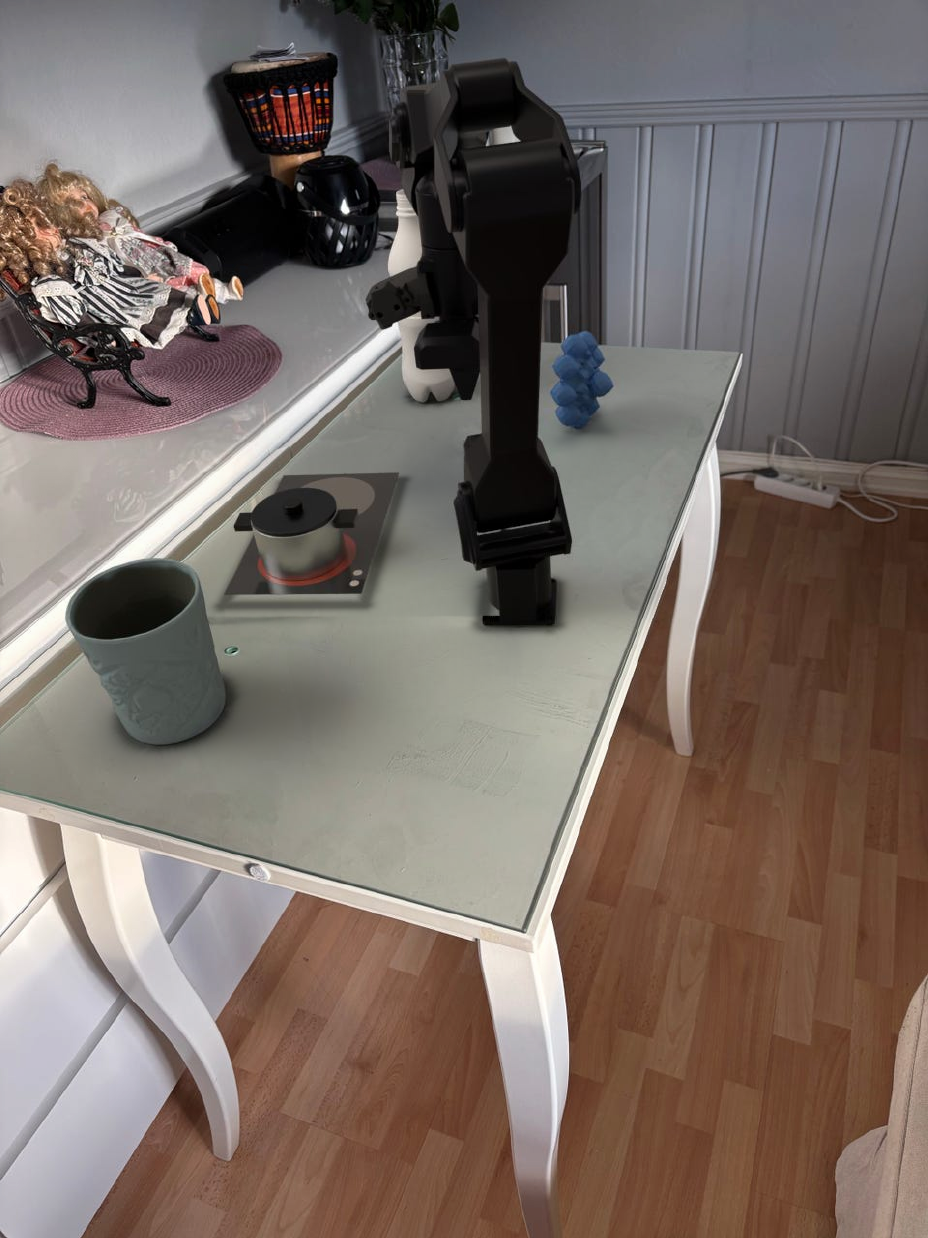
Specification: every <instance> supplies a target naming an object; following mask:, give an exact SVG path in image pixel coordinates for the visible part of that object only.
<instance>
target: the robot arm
mask: <svg viewBox="0 0 928 1238" xmlns="http://www.w3.org/2000/svg"><path fill="white" fill-rule="evenodd" d="M399 101H400V102H399V103H394V104H393V107H392V115H391V117H390V119H389V120H388V140H389V141H388V152H389V156H390V157H389V158H390V162H391V163H395V164H396V167H397V169H398V170H403V172H402V177H401V186H402V189H403V190H404V193H405V195H406V197H407V199H408V201H409V203H410V204H411V206H412V208H413V210H414V211H415V213H416V215H417V216H418V219H419V228H420V237H421V247H422V256H421V258H420V261H418V262H417V266H415V267H412V268H409V269H406V270H404V271H402V272H400V273H398V274H395V275H393V276H391V277H390V276H389V277H387V278H385V279H381V280H380V281H378V282H376V283H375V284H374V285H372V286H371V288H370V289H369V292H368V293H367V295H366V297H365V304H366V306H367V309H368V314H367V316H368V319H370V320H371V321H376V323H377V325H378V327H379V329H380V330H382V331H383V330H387V329H390V328H392V327H393V326H394V324H396V323H398V321H401V320H403V319H405V318H408V317H410V316H412V315H414V314H416V313H418V312H420V311H421V319H434V318H435V317H439V320H437V321H435V322H434V323H427V324H426V326H425V327H424V328H423V329H422V330H421V332H420V333H419V334H418V337H417V340H416V343H415V346H414V355H415V363H416V368H418V369H421V370H430V369H449V370H450V373H451V375H452V378H453V381H454V383H455V386H456V387H455V389H456V391H457V393H458V397H459V399H460V400H461V401H462V402H463V401H464V402H465V401H471V400H472V399H473V396H474V393H475V390H476V387H477V383H478V381H480V409H481V410H480V415H481V433H475V434H471V435H467V436H466V438H465V440H464V442H463V481H459V482H458V483H457V491H456V497H455V498H454V499H453V508H454V513H455V517H456V524H457V528H458V534H459V540H460V548H461V556H462V560H463V561H464V562H467V563H470V564H471V565H473V567H474V570H475V571H476V572H478V571H479V572H480V571H483V569H485V570H486V571H485V572H486V582H487V592H488V594H487V595H488V601H489V603H490V604H491V606H493V608H495V609H496V610H498V615H482V618H481V621H482V625H483V626H485V627H486V626H487V627H525V626H526V627H527V626H528V627H538V626H539V627H547V626H548V627H551V626H554V625H555V624H556V619H557V615H556V614H557V593H558V592H557V591H558V581H557V579H556V578H555V577H553V578H552V567H551V565H552V564H551V557H556V556H560V555H565V556H566V555H570V554H571V551H572V547H573V546H572V545H573V536H572V532H571V528H570V523H569V518H568V514H567V510H566V504H565V500H564V496H563V491H562V487H561V482H560V477H559V474H558V471H557V469H556V467H555V466H553V465H552V463H551V461H550V458H549V455H548V452H547V450H546V447H545V445H544V443H543V441H542V439H540V437H539V416H540V392H541V391H540V390H541V389H540V387H541V386H540V385H541V358H542V330H543V328H542V327H543V304H544V303H543V300H544V299H543V298H544V289H545V286H546V285H547V284H548V282H549V281H550V279H551V278H552V277H553V276H554V274H555V273H556V271H557V270H558V268H559V267H560V266H561V264H562V263H563V262H564V260H565V258H566V257H567V256H568V254H569V253H570V247H571V239H572V230H573V223H574V215H577V214H578V213H579V211H580V207H581V202H582V180H581V179H582V178H581V171H580V168H579V163H578V159H577V157H576V154H575V151H574V148H573V145H572V142H571V139H570V136H569V132H568V130H567V127H566V124H565V121H564V119H563V117H562V115H561V114H560V113H558V112H557V111H556V110H555V109H554V108H552V107H551V106H550V105H549V104H548V103H546V102H545V101H544V100H542V99H541V98H540V97H539V96H538V95H537V94H536V93H534V92H533V91H532V90H530V89H529V88H528V86H526V85H525V82H524V78H523V75H522V71H521V69H520V66H519V64H518V62H517V61H516V60H511V61H510V60H508V59H507V58H506V57H499V58H492V59H491V58H489V59H483V60H475V61H467V62H460V63H453V64H452V63H451V65H450V66H449V67H448V69H441V71H440V74H439V81H438V82H433V83H432V82H431V83H423V84H416V85H410V86H409V85H408V86H402V88H401V90H400V92H399ZM509 127H511V131H512V133H513V134H512V135H514V136H515V138H516V139H517V140H518V141H513V142H512V141H511V142H506V143H497V144H490V145H487V144H488V140H489V137H490V132H491V131H494V130H495V129H496V130H497V129H501V128H502V129H503V128H509ZM479 379H480V380H479Z"/></svg>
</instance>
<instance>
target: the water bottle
mask: <svg viewBox="0 0 928 1238" xmlns="http://www.w3.org/2000/svg"><path fill="white" fill-rule="evenodd" d="M395 197H396V202H397V206H396V210H397V211H396V212H395V215H396V217H398V226H397V230H396V234H395V237H394V239H393V242H392V245H391V248H390V251H389V255H388V260H387V270H388V274H389V277H391V276H393V275H395V274H398V273H400V272H402V271H404V270H406V269H409V268H412V267H415V266H417V262H418V261H420V258H421V256H422V247H421V237H420V228H419V219H418V216H417V215H416V213H415V211H414V210H413V208H412V206H411V204H410V203H409V201H408V199H407V197H406V195H405V193H404V190H403V188H402V189H400V190H399V189H398V190H397V191H396V195H395ZM437 320H439V317H435V318H434V319H421V311H420V312H418V313H416V314H414V315H412V316H410V317H408V318H405V319H403V320H401V321H398V322H397V325H398V330H399V334H400V340H401V348H402V349H401V352H402V359H401V360H402V361H401V374H402V381H403V383H404V385H405V388H406V390H407V391H408V392H409V394H410V395H411V397H412V398H413V399H414V400H415V401H416V402H418V403H426V402H427V401H428V398H429V396H430V393H432V394H433V396H434V398H435V400H436V401H437V402H443V401H446V400H448V399H449V398H450V396H451V395H452V393H453V392H454V391H455V389H456V386H455V383H454V381H453V378H452V375H451V373H450V370H449V369H430V370H421V369H418V368H416V363H415V355H414V346H415V343H416V340H417V337H418V334H419V333H420V332H421V330H422V329H423V328H424V327H425V326H426V324H427V323H434V322H435V321H437Z"/></svg>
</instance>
